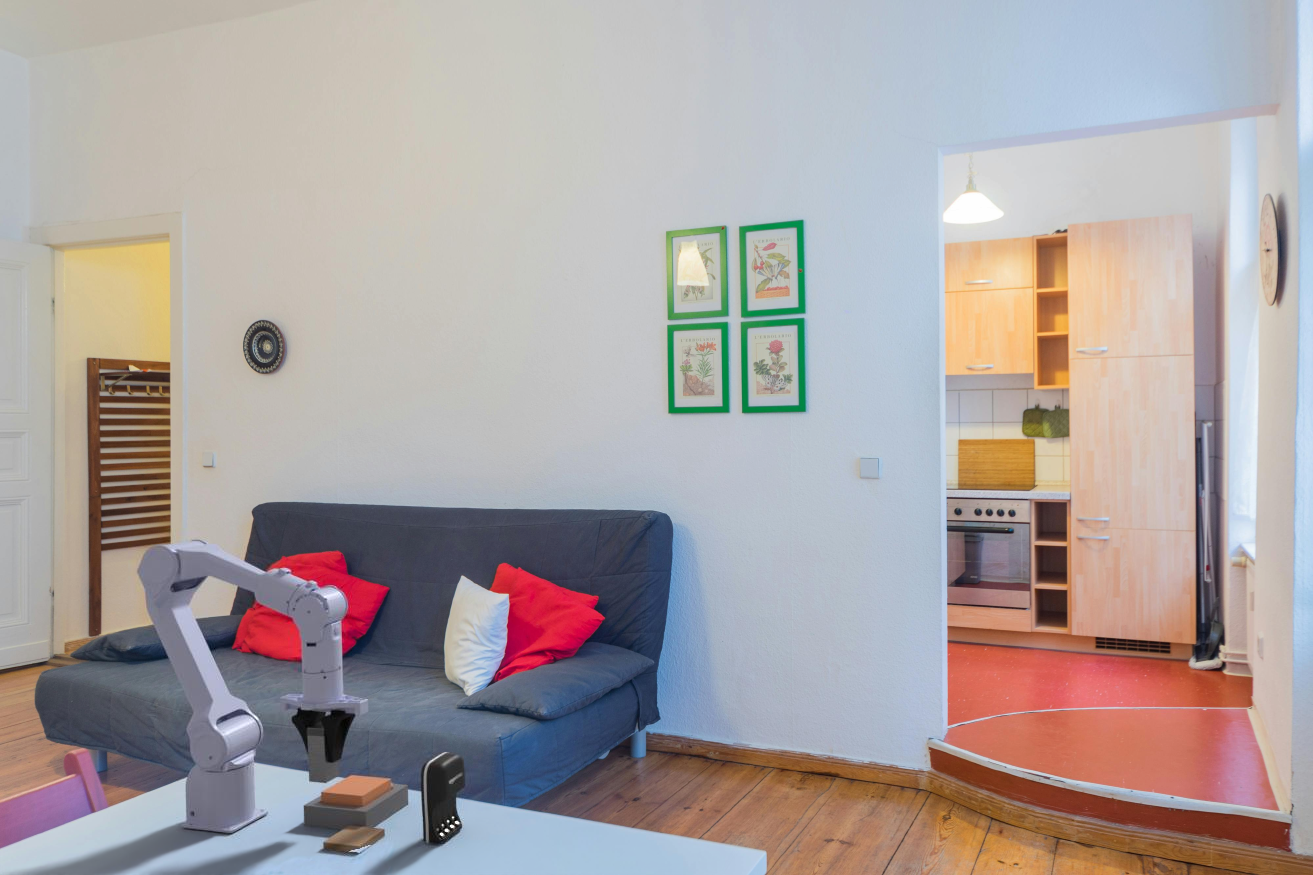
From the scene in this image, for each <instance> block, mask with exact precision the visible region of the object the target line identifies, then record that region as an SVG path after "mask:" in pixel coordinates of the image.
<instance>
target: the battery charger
mask: <svg viewBox="0 0 1313 875" xmlns="http://www.w3.org/2000/svg"><path fill="white" fill-rule="evenodd" d="M465 769H466V768H465V761H464V758H463V756H461V755H460V754H457V753H453V752H452V753H450V752H447V751H445V752H440V753H439V754H437V755H435V756H434V757H432V758H429V759H428V760H427V761H425V763H424V764H423V765H422V768H421V773H420V792H421V793H420V794H421V796H420V798H421V814H422V837H423V838H422V841H423V842H424V843H426V844H435V845H436V844H444V843H445V842H447V841H448V840H449V839H451V838H452V837H454V836H455V835H457V833H459V832H460V831H461V830H462V829H463V823H462V821H461V818H460V816H459V814H458V813H459V812H458V809H457V793H458V792H459V793H460V791H461V790H463V789H464V788H466V770H465Z"/></svg>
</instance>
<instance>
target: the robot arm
mask: <svg viewBox="0 0 1313 875" xmlns="http://www.w3.org/2000/svg"><path fill="white" fill-rule="evenodd" d="M291 572H292V570H291V569H290V568H286V567H281V568H272V569H270V570H268V571H264V570H262V569H260V568H258V567H257V566H254V565H253V564H250V563H248V562H247V561H245V560H243V559H240V558H238V557H237V556H234V555H233V554H230V553H228V552H227V551H224V550H223V549H221V547H220V546H219V545H218V544H215V543H210V542H207V541H206V540H204V539H201V538H200V539H199V538H198V539H197V538H196V539H191V540H189V541H188V540H187V541H182V542H175V543H174V542H173V543H169V544H156V545H153V546H151V547H149V548H148V549H147V550H145V552H144V553H143V555H142V557H141V560H140V563H139V565H138V568H137V570H136V573H137V575H138V578H139V580H140V582H141V584H142V586H143V588H144V595H145V605H146V611H147V613H148V615H149V618H150V620H151V623H152V624H153V627H154V629H155V630H156V633H157V635H158V638H159V639H160V641H161V644H162V646H163V648H164V650H165V654H166V655H167V657H168V659H169V661H170V663H171V666H172V668H173V670H174V673H175V674H176V677H177V678H178V681H179V683H180V686H181V688H182V690H183V693H184V694H185V696H186V699H187V700H188V703H189V705H190V707H191V709H192V712H193V714H192V716H191V718H190V719H189V722H188V724H187V726H186V729H185V731H186V733H187V735H188V738H189V747H190V748H189V750H190V756H191V758H192V760H193V761H194V763H195V765H194V766H193V767H192V768H191V769H190V771H189V772H188V774H187V777H186V781H185V817H186V822H183V823H182V825H181V827H182V828H183V829H190V830H191V829H193V830H198V831H199V830H201V831H206V832H207V831H209V832H218V833H227V834H232V833H235V832H236V831H238V830H240V829H242V828H244V827H245V826H248V825H249V824H251V823H254V822H255V821H256V820H258V819H260V818H262V817H264V816H266V815H267V814H268V813H269V810H268V809H261V808H256V795H255V794H256V793H255V791H256V790H255V789H256V788H255V787H256V786H255V760H254V758H255V756H257V755H256V749H257V748H258V747H259V746H260V744H261V743H262V741H263V737H264V728H263V724H262V721H261V720H260V719H259V717H258V716H257V715H256V714H254V713H253V712H252V711H251V709H249V706H248V705H247V703H246V701H245V700H242V699H240V698H238V697H236V696H234V695H232V694H231V693H230V691H229V689H228V686H227V685H226V683H225V682H226V681H225V680H224V677H223V676H222V674H221V672H220V669H219V667H218V665H217V663H216V661H215V659H214V657H213V656H214V655H212V652H211V650H210V647H209V645H208V643H207V641H206V638H205V637H204V635H203V632H202V630H201V628H200V626H199V624H198V622H197V620H196V618H195V616H194V613H193V611H192V609H191V607H190V604H191V601H192V599H193V597H194V595H195V593H196V592H198V589H199V588H200V587H201V586H202V584H203V583H204V582H205V581H206V579H208V578H209V577H212V578H214V579H217V580H220V581H222V582H226V583H227V584H230V585H233V586H237V587H239V588H241V589H244V590H246V591H249V592H251V593H252V592H253V593H254V597H255V598H254V599H256V602H257V603H258V604H259V605H262V606H265V607H266V608H269V609H271V610H274V611H276V612H278V613H280V614H282V615H285V616H287V617H289V618H292V620H293V623H294V624H295V625H296V627H297V628H298V631H299V639H301V640H300V642H301V674H302V675H301V676H302V694H301V693H299V694H297V693H296V694H294V693H293V694H291V693H288V694H286V695H282V696H280V697H279V710H280V711H288V710H295V711H297V712H296V713H295V714H294V715H292V716H291V723H292V724H293V725H294V726H295V728H296V730H297V731H298V733H299V736H300V737H301V739H302V741H303V744H304V747H305V750H306V753H307V755H308V736H307V728H308V727H310V726H312V725H314V724H317V723H319V722H322V725H323V728H324V731H325V735H326V740H327V753H328V760H329V763H334V762H336V761H338V760H339V761H340V760H341V759H342V758H343V751H344V747H345V743H346V739H347V735H348V733H349V731H350V728H351V726H352V724H353V721H354V719H355V718H356V716H362V715H364V714H367V713H369V699H368V698H361V697H356V696H352V695H347V694H344V678H343V677H344V676H343V674H344V672H343V671H344V670H343V669H344V668H343V646H342V645H343V644H342V643H343V641H342V640H343V638H342V620H343V619H344V618H345V616H346V615H347V613H348V609H349V604H348V599H347V596H346V594H345V593H344V592H343V591H342V590H341V589H339V588H337V586H335V585H330V584H329V585H326V586H323V587H319V586H318V582H316V581H314V580H309V581H307V580H305V579H303V578H301V577H298V576H295V575H293V574H291ZM327 713H330V714H327ZM326 714H327V715H326ZM218 721H219V722H218Z"/></svg>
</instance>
